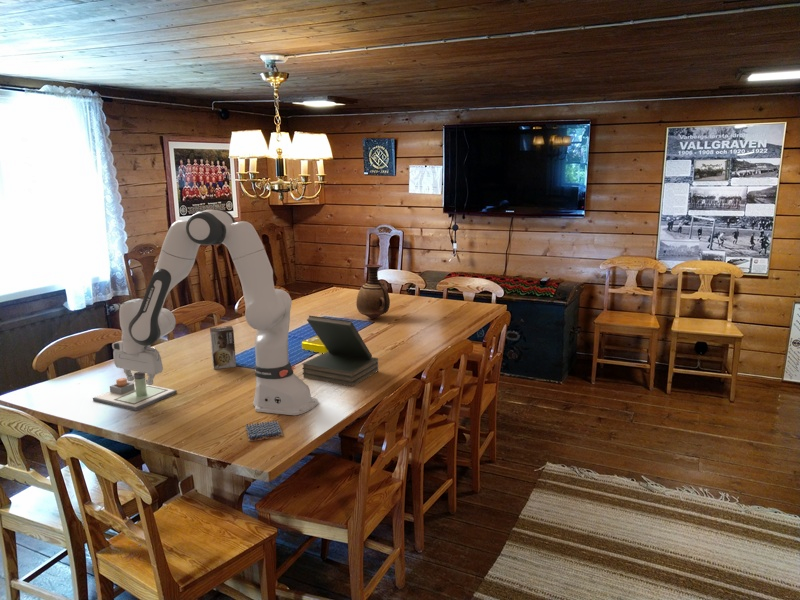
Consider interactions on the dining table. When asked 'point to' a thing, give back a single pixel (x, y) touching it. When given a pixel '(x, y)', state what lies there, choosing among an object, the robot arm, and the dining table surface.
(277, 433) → the woven mat
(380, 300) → the vase
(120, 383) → the button
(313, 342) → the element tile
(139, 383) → the marker
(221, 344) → the coffee box
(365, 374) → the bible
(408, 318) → the dining table surface
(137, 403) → the cream board with holder
